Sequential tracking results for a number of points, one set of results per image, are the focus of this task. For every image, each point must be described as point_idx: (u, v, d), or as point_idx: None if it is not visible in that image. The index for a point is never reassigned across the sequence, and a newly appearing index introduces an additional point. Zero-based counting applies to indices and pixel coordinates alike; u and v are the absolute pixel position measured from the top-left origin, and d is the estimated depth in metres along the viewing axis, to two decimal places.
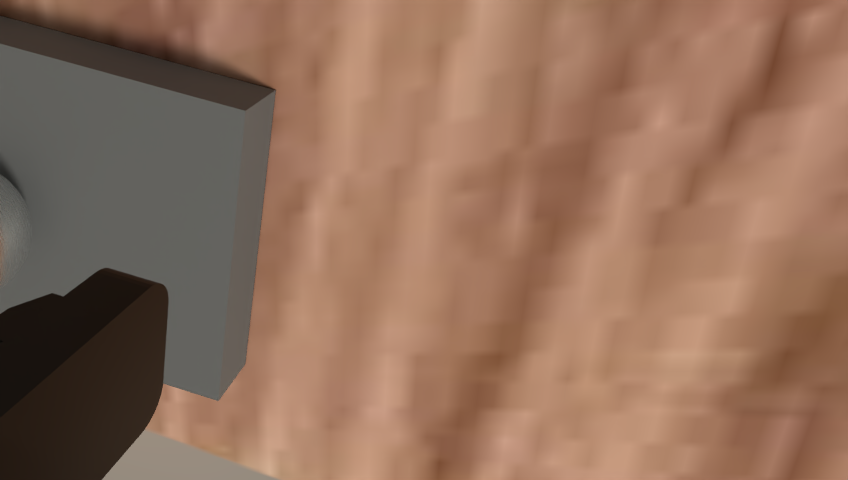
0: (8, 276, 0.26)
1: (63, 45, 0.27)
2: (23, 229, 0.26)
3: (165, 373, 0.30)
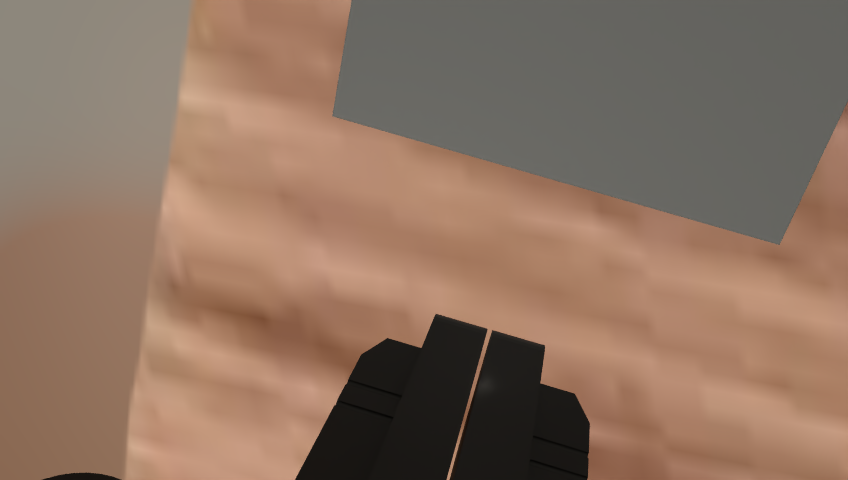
0: None
1: None
2: None
3: (364, 39, 0.20)
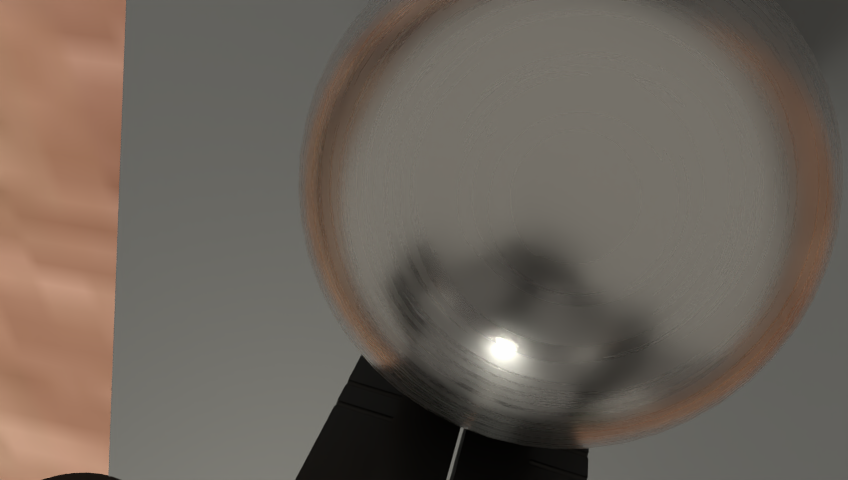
0: None
1: None
2: None
3: (136, 440, 0.14)
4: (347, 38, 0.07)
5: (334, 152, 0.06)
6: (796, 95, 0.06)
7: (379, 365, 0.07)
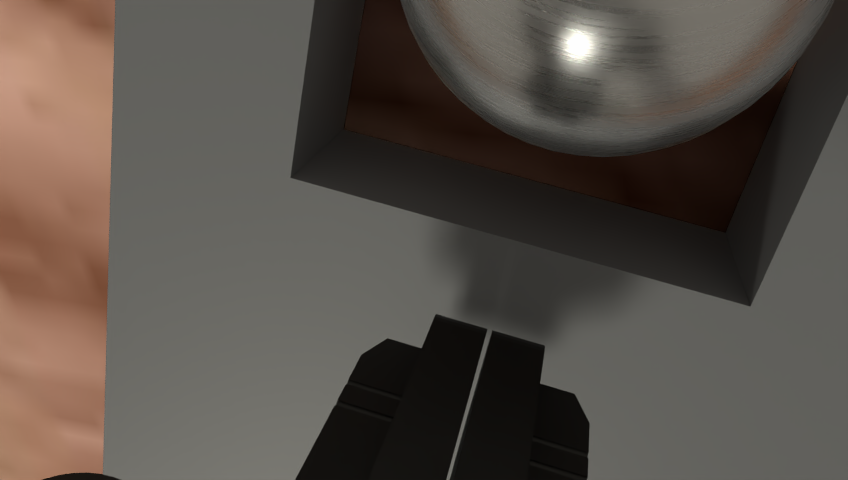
0: None
1: None
2: None
3: None
4: None
5: None
6: None
7: None
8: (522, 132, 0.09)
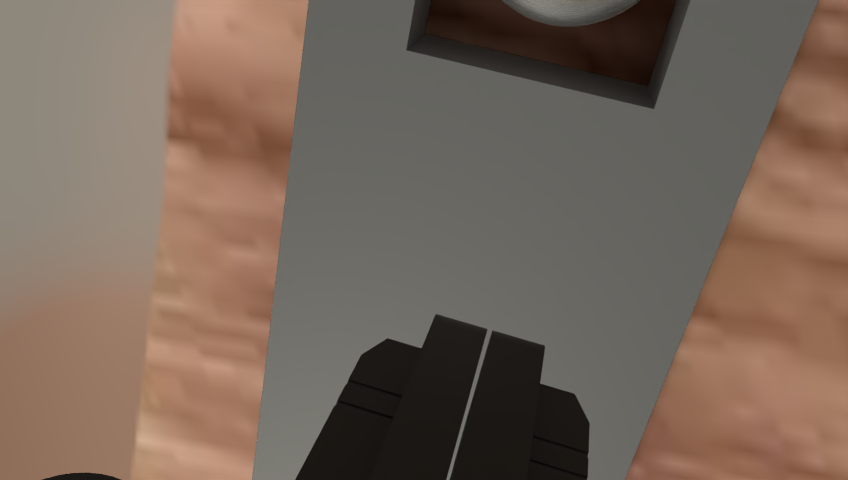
0: None
1: None
2: None
3: (270, 449, 0.27)
4: None
5: None
6: None
7: None
8: (533, 11, 0.18)
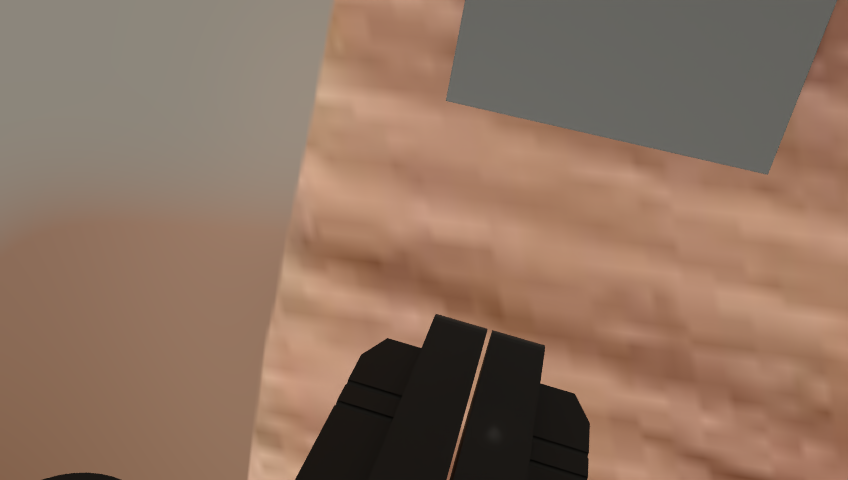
0: None
1: None
2: None
3: (471, 44, 0.28)
4: None
5: None
6: None
7: None
8: None
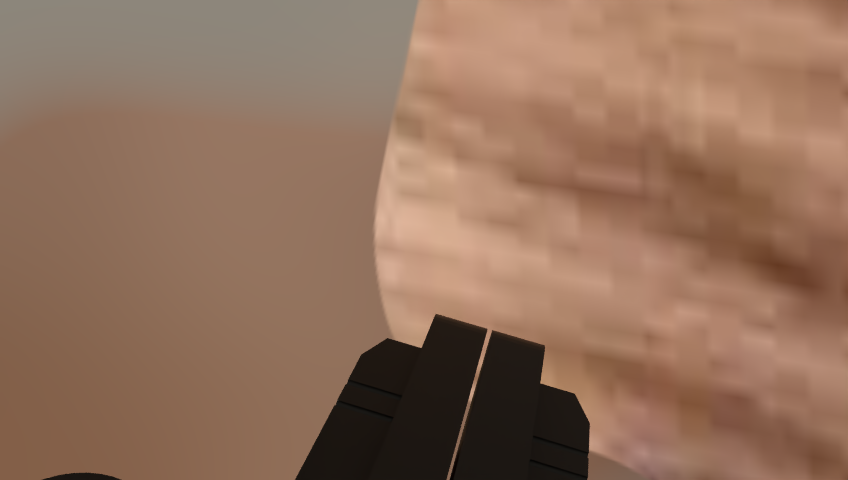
0: None
1: None
2: None
3: None
4: None
5: None
6: None
7: None
8: None
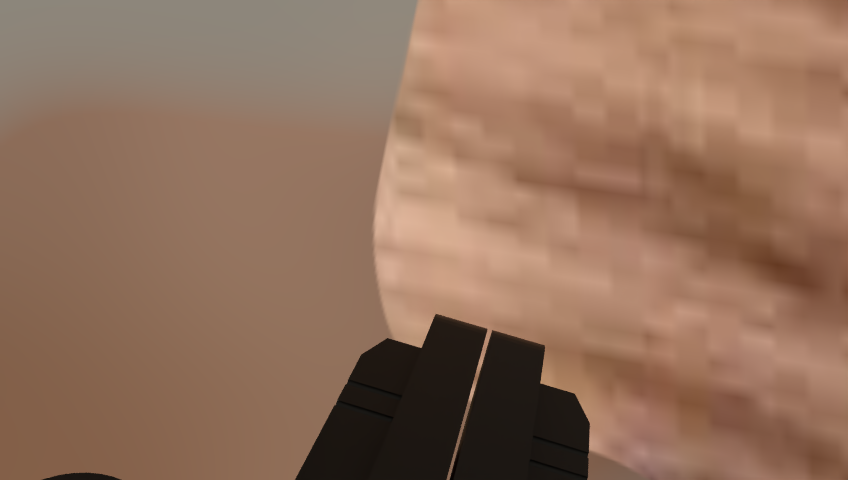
0: None
1: None
2: None
3: None
4: None
5: None
6: None
7: None
8: None
